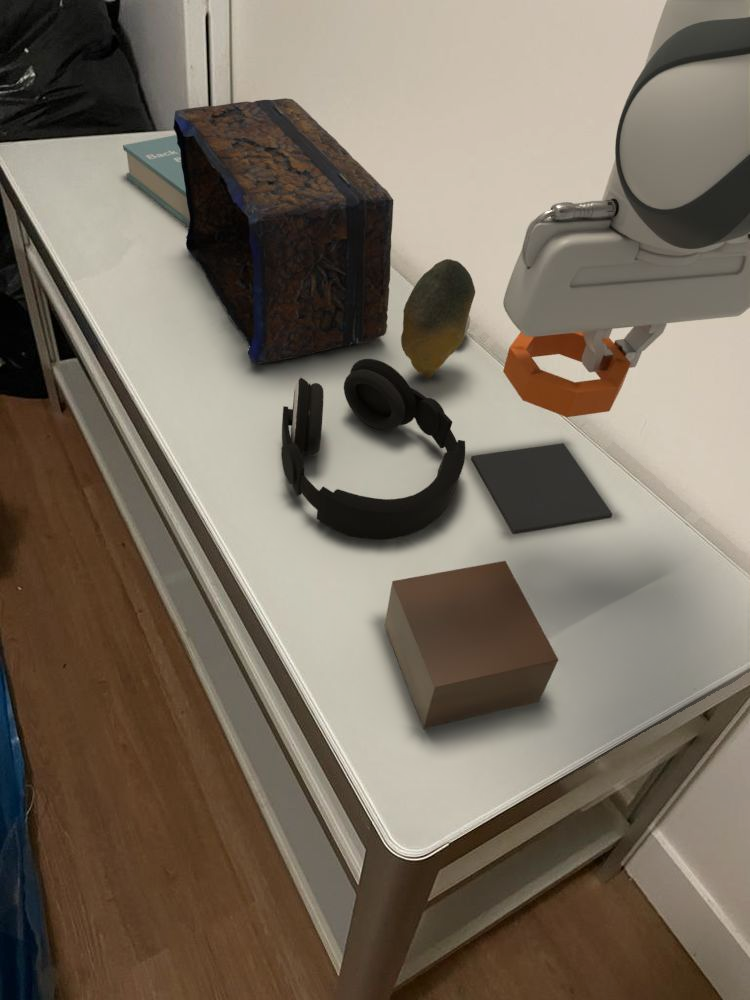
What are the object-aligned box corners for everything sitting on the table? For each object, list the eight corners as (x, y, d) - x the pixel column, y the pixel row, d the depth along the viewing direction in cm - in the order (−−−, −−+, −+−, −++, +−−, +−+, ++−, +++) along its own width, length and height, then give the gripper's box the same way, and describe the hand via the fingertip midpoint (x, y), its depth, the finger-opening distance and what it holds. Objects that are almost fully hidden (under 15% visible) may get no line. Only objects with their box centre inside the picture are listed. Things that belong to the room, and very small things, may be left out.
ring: (638, 407, 61) (648, 382, 59) (536, 422, 58) (544, 396, 57) (584, 342, 67) (592, 318, 65) (490, 353, 64) (496, 328, 62)
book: (127, 177, 123) (122, 145, 119) (216, 158, 131) (214, 127, 127) (204, 238, 111) (202, 204, 108) (296, 213, 119) (297, 181, 116)
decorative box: (261, 386, 90) (409, 334, 97) (238, 222, 76) (414, 173, 82) (169, 265, 109) (299, 227, 115) (135, 113, 94) (287, 80, 100)
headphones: (396, 332, 84) (507, 461, 74) (384, 386, 90) (486, 511, 80) (243, 375, 76) (346, 524, 67) (242, 431, 82) (336, 575, 73)
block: (539, 701, 63) (558, 659, 59) (423, 729, 61) (434, 687, 56) (491, 604, 70) (505, 560, 66) (384, 625, 67) (392, 580, 63)
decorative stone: (416, 404, 89) (436, 286, 79) (381, 377, 92) (396, 259, 82) (475, 376, 94) (502, 262, 83) (441, 351, 97) (462, 237, 86)
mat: (611, 516, 79) (612, 513, 79) (512, 533, 76) (513, 530, 76) (562, 445, 86) (563, 442, 86) (470, 458, 83) (471, 455, 83)
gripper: (556, 228, 48) (506, 405, 58) (820, 213, 54) (734, 376, 64) (514, 182, 52) (474, 355, 62) (763, 173, 58) (690, 332, 68)
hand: (607, 365), depth 63 cm, fingers closed on ring, 1 cm apart
